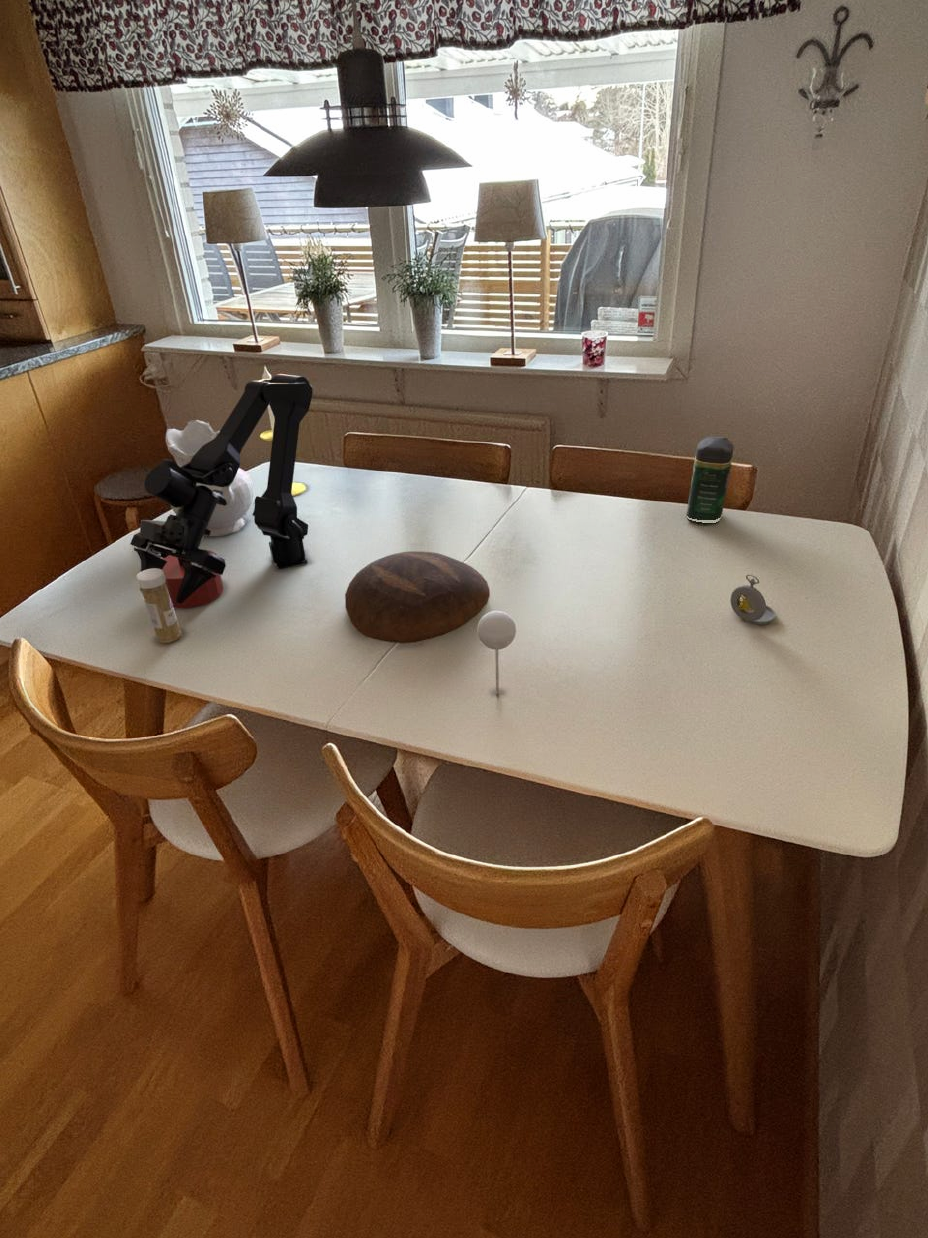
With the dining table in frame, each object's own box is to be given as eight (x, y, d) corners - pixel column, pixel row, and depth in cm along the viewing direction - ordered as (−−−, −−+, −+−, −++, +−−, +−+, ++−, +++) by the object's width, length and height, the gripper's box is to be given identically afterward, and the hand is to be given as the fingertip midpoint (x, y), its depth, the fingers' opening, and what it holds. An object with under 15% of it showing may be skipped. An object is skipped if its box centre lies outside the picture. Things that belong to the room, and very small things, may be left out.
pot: (210, 573, 154) (203, 546, 150) (232, 594, 146) (226, 566, 143) (155, 592, 148) (146, 564, 144) (175, 614, 140) (167, 586, 136)
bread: (425, 559, 156) (422, 522, 151) (519, 602, 139) (519, 562, 134) (315, 610, 139) (308, 570, 135) (407, 666, 123) (403, 623, 118)
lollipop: (477, 682, 118) (474, 604, 110) (512, 680, 118) (512, 601, 110) (481, 706, 113) (478, 626, 105) (518, 703, 113) (518, 623, 105)
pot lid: (205, 547, 151) (201, 532, 149) (229, 568, 143) (225, 553, 141) (144, 567, 145) (139, 551, 143) (166, 590, 136) (161, 574, 134)
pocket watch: (774, 609, 134) (785, 562, 128) (775, 634, 127) (786, 584, 122) (727, 603, 136) (736, 556, 131) (726, 627, 129) (735, 578, 124)
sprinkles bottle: (185, 638, 133) (166, 574, 125) (159, 647, 131) (139, 582, 123) (178, 627, 136) (159, 564, 129) (153, 635, 134) (133, 572, 127)
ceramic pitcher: (282, 526, 175) (270, 423, 164) (219, 553, 161) (200, 442, 149) (222, 510, 186) (205, 412, 174) (157, 533, 171) (134, 428, 159)
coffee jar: (719, 528, 163) (733, 449, 153) (683, 524, 166) (694, 445, 156) (723, 512, 171) (736, 435, 161) (689, 507, 173) (700, 432, 163)
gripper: (124, 490, 128) (89, 571, 126) (198, 508, 120) (162, 595, 118) (170, 515, 138) (138, 590, 136) (241, 533, 130) (209, 614, 128)
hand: (160, 597), depth 129 cm, fingers open, 9 cm apart
